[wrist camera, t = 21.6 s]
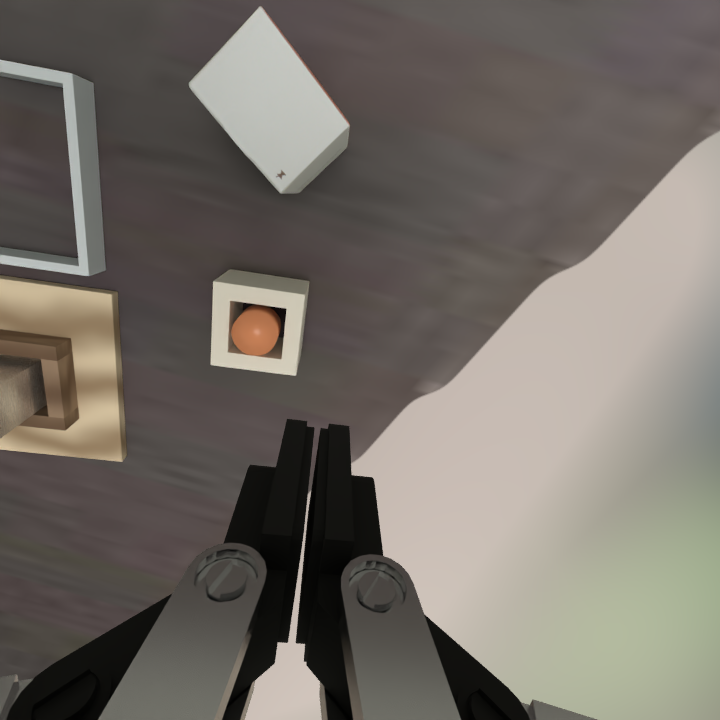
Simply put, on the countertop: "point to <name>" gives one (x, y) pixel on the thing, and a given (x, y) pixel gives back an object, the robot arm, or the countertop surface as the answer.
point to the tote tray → (82, 174)
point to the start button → (256, 330)
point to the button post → (260, 291)
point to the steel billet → (19, 390)
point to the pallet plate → (67, 367)
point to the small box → (272, 105)
